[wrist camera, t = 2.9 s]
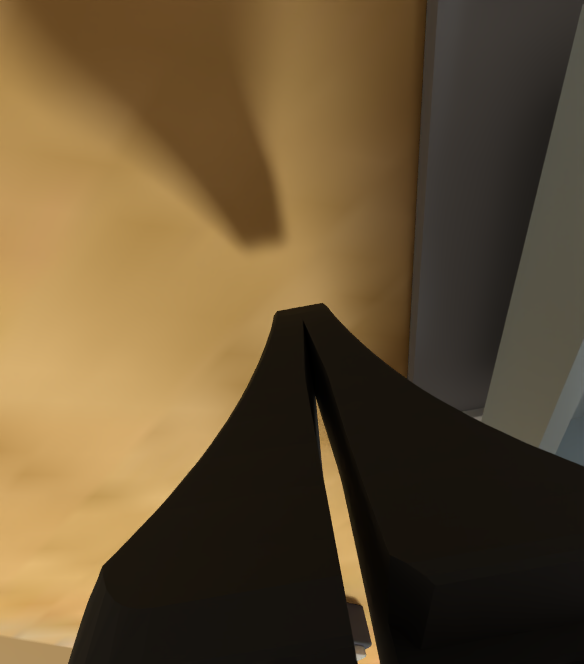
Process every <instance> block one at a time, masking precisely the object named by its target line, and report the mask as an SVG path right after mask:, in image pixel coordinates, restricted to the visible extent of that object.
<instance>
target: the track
mask: <svg viewBox="0 0 584 664" xmlns="http://www.w3.org/2000/svg"><path fill="white" fill-rule="evenodd" d="M583 4H584V0H427V12H426V31H425V50H424V69H423V89H422V108H421V127H420V146H419V166H418V185H417V204H416V223H415V243H414V262H413V281H412V300H411V319H410V339H409V358H408V377H407V379H408V380H409V381H411V382H412V383H414V384H415V385H417V386H418V387H420V388H421V389H423V390H425V391H426V392H428V393H430V394H431V395H433V396H434V397H436V398H438V399H440V400H441V401H443V402H445V403H447V404H449V405H451V406H452V407H454V408H456V409H458V410H460V411H462V412H463V413H465V414H467V415H469V416H471V417H473V418H475V419H477V420H479V421H481V420H482V416H483V412H484V408H485V404H486V400H487V395H488V391H489V387H490V383H491V379H492V375H493V371H494V367H495V362H496V358H497V354H498V350H499V346H500V342H501V338H502V334H503V330H504V325H505V321H506V317H507V313H508V309H509V305H510V301H511V297H512V293H513V288H514V284H515V280H516V276H517V272H518V268H519V264H520V260H521V256H522V251H523V247H524V243H525V239H526V235H527V231H528V227H529V223H530V218H531V214H532V210H533V206H534V202H535V198H536V194H537V190H538V186H539V181H540V177H541V173H542V169H543V165H544V161H545V157H546V153H547V149H548V144H549V140H550V136H551V132H552V128H553V124H554V120H555V116H556V111H557V107H558V103H559V99H560V95H561V91H562V87H563V83H564V79H565V74H566V70H567V66H568V62H569V58H570V54H571V50H572V46H573V42H574V37H575V33H576V29H577V25H578V21H579V17H580V13H581V9H582V5H583Z"/></svg>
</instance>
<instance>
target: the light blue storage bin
mask: <svg viewBox="0 0 584 664" xmlns="http://www.w3.org/2000/svg"><path fill="white" fill-rule="evenodd" d="M481 422H483V423H485V424H487V425H489V426H491V427H493V428H495V429H497V430H499V431H502V432H504V433H506V434H508V435H510V436H512V437H514V438H517V439H519V440H521V441H523V442H525V443H528V444H530V445H532V446H535V447H537V448H540V449H542V450H545V451H547V452H550V453H552V454H555V455H557V456H560V457H562V458H565V459H567V460H570V461H572V462H575V463H577V464H580V465H582V466H584V4H583V5H582V9H581V13H580V17H579V21H578V25H577V29H576V33H575V37H574V42H573V46H572V50H571V54H570V58H569V62H568V66H567V70H566V74H565V79H564V83H563V87H562V91H561V95H560V99H559V103H558V107H557V111H556V116H555V120H554V124H553V128H552V132H551V136H550V140H549V144H548V149H547V153H546V157H545V161H544V165H543V169H542V173H541V177H540V181H539V186H538V190H537V194H536V198H535V202H534V206H533V210H532V214H531V218H530V223H529V227H528V231H527V235H526V239H525V243H524V247H523V251H522V256H521V260H520V264H519V268H518V272H517V276H516V280H515V284H514V288H513V293H512V297H511V301H510V305H509V309H508V313H507V317H506V321H505V325H504V330H503V334H502V338H501V342H500V346H499V350H498V354H497V358H496V362H495V367H494V371H493V375H492V379H491V383H490V387H489V391H488V395H487V400H486V404H485V408H484V412H483V416H482V420H481Z"/></svg>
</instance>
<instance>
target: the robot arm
mask: <svg viewBox="0 0 584 664" xmlns="http://www.w3.org/2000/svg"><path fill="white" fill-rule="evenodd" d="M315 396H316V397H315ZM316 400H317V403H318V406H319V409H320V412H321V416H322V419H323V422H324V425H325V428H326V432H327V435H328V438H329V441H330V444H331V448H332V451H333V454H334V457H335V460H336V464H337V467H338V470H339V474H340V478H341V481H342V485H343V490H344V494H345V499H346V504H347V508H348V513H349V518H350V522H351V527H352V531H353V536H354V541H355V546H356V550H357V555H358V560H359V564H360V569H361V574H362V578H363V583H364V588H365V593H366V598H367V602H368V607H369V612H370V617H371V621H372V626H373V631H374V636H375V641H376V646H377V650H378V655H379V660H380V664H584V466H582V465H580V464H577V463H575V462H572V461H570V460H567V459H565V458H562V457H560V456H557V455H555V454H552V453H550V452H547V451H545V450H542V449H540V448H537V447H535V446H532V445H530V444H528V443H525V442H523V441H521V440H519V439H517V438H514V437H512V436H510V435H508V434H506V433H504V432H502V431H499V430H497V429H495V428H493V427H491V426H489V425H487V424H485V423H483V422H481V421H479V420H477V419H475V418H473V417H471V416H469V415H467V414H465V413H463V412H462V411H460V410H458V409H456V408H454V407H452V406H451V405H449V404H447V403H445V402H443V401H441V400H440V399H438V398H436V397H434V396H433V395H431V394H430V393H428V392H426V391H425V390H423V389H421V388H420V387H418V386H417V385H415V384H414V383H412V382H411V381H409V380H408V379H407V378H405V377H404V376H402V375H401V374H399V373H398V372H397V371H395V370H394V369H393V368H391V367H390V366H389V365H387V364H386V363H385V362H384V361H382V360H381V359H380V358H379V357H377V356H376V355H375V354H374V353H373V352H371V351H370V350H369V349H368V348H367V347H366V346H365V345H363V344H362V343H361V342H360V341H359V340H358V339H357V338H356V337H355V336H354V335H353V334H352V333H351V332H350V331H349V330H348V329H347V328H346V327H345V326H344V325H343V324H342V323H341V322H340V321H339V320H338V319H337V318H336V317H335V316H334V314H333V313H332V312H331V311H330V310H329V308H328V307H327V306H326V305H324V304H323V303H320V304H314V305H309V306H303V307H298V308H292V309H287V310H281V311H277V312H276V314H275V315H274V318H273V323H272V327H271V331H270V334H269V337H268V340H267V343H266V345H265V348H264V350H263V353H262V356H261V358H260V361H259V363H258V365H257V367H256V369H255V371H254V373H253V376H252V378H251V380H250V382H249V384H248V386H247V388H246V390H245V392H244V393H243V395H242V397H241V399H240V401H239V402H238V404H237V406H236V407H235V409H234V411H233V412H232V414H231V415H230V417H229V419H228V420H227V422H226V423H225V425H224V426H223V428H222V429H221V431H220V432H219V433H218V435H217V436H216V438H215V439H214V441H213V442H212V444H211V445H210V446H209V448H208V449H207V450H206V452H205V453H204V454H203V456H202V457H201V458H200V460H199V461H198V462H197V463H196V465H195V466H194V467H193V468H192V469H191V471H190V472H189V473H188V474H187V475H186V477H185V478H184V479H183V480H182V481H181V483H180V484H179V485H178V486H177V487H176V489H175V490H174V491H173V492H172V494H171V495H170V496H169V497H168V498H167V499H166V501H165V502H164V503H163V504H162V505H161V506H160V507H159V508H158V510H157V511H156V512H155V513H154V514H153V515H152V516H151V517H150V518H149V519H148V520H147V521H146V522H145V523H144V524H143V525H142V526H141V527H140V528H139V529H138V530H137V532H136V533H135V534H134V535H133V536H132V537H131V538H130V539H129V540H128V541H127V542H126V543H125V544H124V545H123V546H122V547H121V548H120V549H119V550H118V551H117V552H116V553H115V554H114V555H113V556H112V557H111V558H110V559H109V560H108V561H107V562H106V563H105V564H104V565H103V566H102V568H101V571H100V574H99V577H98V580H97V582H96V584H95V587H94V589H93V591H92V594H91V596H90V598H89V601H88V603H87V606H86V609H85V612H84V615H83V618H82V621H81V624H80V627H79V630H78V634H77V637H76V640H75V643H74V646H73V650H72V653H71V656H70V659H69V663H68V664H358V663H357V657H356V651H355V646H354V640H353V635H352V629H351V624H350V618H349V613H348V608H347V602H346V597H345V591H344V586H343V580H342V575H341V570H340V564H339V559H338V554H337V548H336V543H335V538H334V532H333V527H332V521H331V516H330V511H329V505H328V500H327V495H326V489H325V484H324V478H323V471H322V461H321V450H320V439H319V429H318V418H317V407H316Z"/></svg>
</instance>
